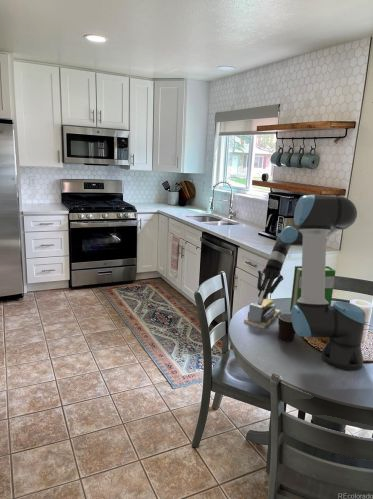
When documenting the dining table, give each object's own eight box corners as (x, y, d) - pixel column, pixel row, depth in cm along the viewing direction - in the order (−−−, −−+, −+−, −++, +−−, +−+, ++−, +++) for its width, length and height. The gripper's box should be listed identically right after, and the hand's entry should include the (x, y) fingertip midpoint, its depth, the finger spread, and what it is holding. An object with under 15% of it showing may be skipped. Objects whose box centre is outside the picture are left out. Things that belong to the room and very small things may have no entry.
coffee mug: (291, 345, 162) (294, 323, 160) (272, 339, 167) (275, 317, 165) (302, 335, 171) (304, 315, 169) (283, 330, 176) (286, 309, 174)
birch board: (263, 328, 177) (264, 325, 177) (243, 322, 182) (244, 319, 182) (280, 312, 195) (280, 310, 195) (262, 308, 200) (262, 305, 200)
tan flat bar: (273, 304, 191) (262, 312, 180) (264, 302, 194) (252, 310, 182) (274, 300, 191) (263, 308, 179) (264, 297, 193) (253, 305, 182)
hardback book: (295, 316, 192) (300, 270, 186) (290, 310, 199) (295, 265, 193) (329, 316, 193) (335, 270, 187) (322, 310, 200) (328, 266, 194)
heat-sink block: (263, 324, 177) (265, 308, 175) (245, 319, 182) (246, 303, 180) (278, 311, 193) (279, 296, 191) (261, 307, 198) (262, 292, 196)
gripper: (289, 269, 190) (274, 310, 181) (264, 264, 197) (248, 304, 188) (287, 260, 185) (270, 303, 175) (261, 256, 191) (244, 297, 182)
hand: (259, 303), depth 181 cm, fingers closed
